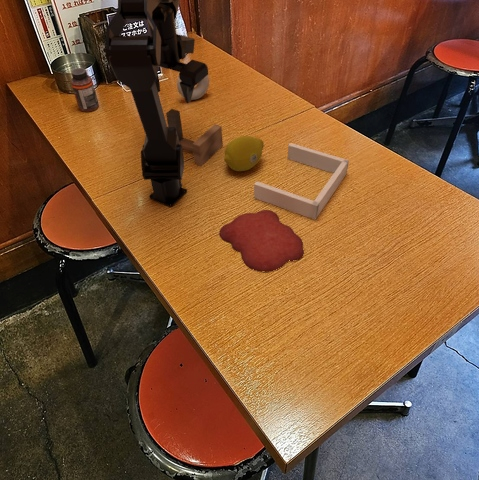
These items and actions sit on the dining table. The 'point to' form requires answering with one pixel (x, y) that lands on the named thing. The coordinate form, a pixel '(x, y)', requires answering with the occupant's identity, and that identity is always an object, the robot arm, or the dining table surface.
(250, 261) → the red spill
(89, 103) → the supplement bottle
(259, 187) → the box
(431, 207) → the dining table surface
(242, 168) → the lemon
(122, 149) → the dining table surface
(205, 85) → the donut
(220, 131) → the scraper
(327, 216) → the dining table surface
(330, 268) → the dining table surface
